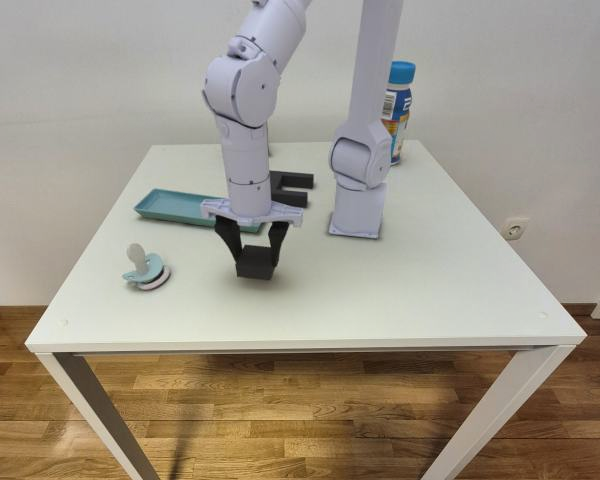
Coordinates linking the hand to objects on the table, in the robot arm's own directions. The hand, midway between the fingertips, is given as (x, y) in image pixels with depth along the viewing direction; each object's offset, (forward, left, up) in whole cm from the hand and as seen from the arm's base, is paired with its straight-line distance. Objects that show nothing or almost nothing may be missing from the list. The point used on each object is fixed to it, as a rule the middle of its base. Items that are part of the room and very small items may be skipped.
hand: (257, 261), depth 56 cm
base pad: (+3, -31, -4) cm, 31 cm away
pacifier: (+18, +3, -4) cm, 19 cm away
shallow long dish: (+16, -18, -4) cm, 24 cm away
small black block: (0, 0, -1) cm, 1 cm away
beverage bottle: (-20, -54, -4) cm, 58 cm away
